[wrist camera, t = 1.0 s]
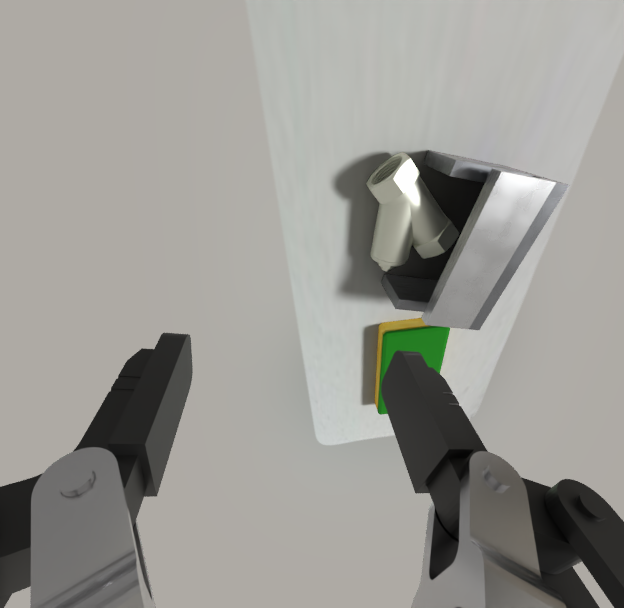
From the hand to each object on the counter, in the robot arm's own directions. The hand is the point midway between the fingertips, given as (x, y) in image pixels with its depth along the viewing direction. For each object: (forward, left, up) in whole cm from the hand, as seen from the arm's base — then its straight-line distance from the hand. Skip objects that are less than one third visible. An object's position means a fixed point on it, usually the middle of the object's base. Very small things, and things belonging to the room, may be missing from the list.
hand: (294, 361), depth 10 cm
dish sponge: (+17, +17, -18) cm, 30 cm away
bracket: (0, +14, -18) cm, 23 cm away
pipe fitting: (-1, +9, -18) cm, 20 cm away
